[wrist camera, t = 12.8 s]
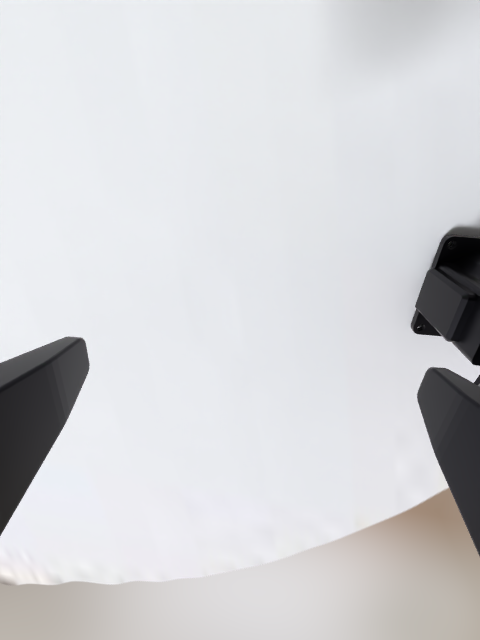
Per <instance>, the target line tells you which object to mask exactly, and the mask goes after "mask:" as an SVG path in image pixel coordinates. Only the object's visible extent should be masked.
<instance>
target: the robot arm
mask: <svg viewBox="0 0 480 640" xmlns="http://www.w3.org/2000/svg"><path fill="white" fill-rule="evenodd" d="M451 241H453V245H452V246H451V247H448V244H449V242H451ZM415 307H416V308H417V309H416V311H415V314H414V317H413V320H412V323H411V329H412V330H413V331H414V332H415V333H416V334H422V335H434V336H443V338H444V339H445V340H446V341H449V342H452V343H453V344H454V345H455V346H456V347H457V348H458V349H459V350H460V351H461V352H462V353H463V354H464V356H465V357H466V358H467V359H468V360H469V361H470V362H471V363H472V364H473V365H478V366H480V237H474V236H461V235H448V236H445V237H444V238H443V239H442V240H441V242H440V245H439V247H438V250H437V253H436V256H435V258H434V261H433V264H432V267H431V269H430V270H429V271H428V272H427V274H426V277H425V280H424V283H423V285H422V288H421V291H420V294H419V297H418V300H417V302H416V305H415ZM420 324H422V326H421V327H420V328H417V327H418V326H419V325H420ZM88 371H89V359H88V353H87V348H86V343H85V341H84V339H83V338H79V337H65V338H62V339H60V340H57V341H55V342H52V343H50V344H47V345H45V346H42V347H39V348H37V349H34V350H32V351H29V352H27V353H24V354H22V355H19V356H17V357H14V358H12V359H9V360H7V361H4V362H2V363H0V536H1V534H2V532H3V530H4V529H5V527H6V525H7V523H8V522H9V520H10V518H11V517H12V515H13V513H14V511H15V510H16V508H17V506H18V504H19V503H20V501H21V499H22V498H23V496H24V494H25V492H26V491H27V489H28V487H29V486H30V484H31V482H32V480H33V479H34V477H35V475H36V473H37V472H38V470H39V468H40V467H41V465H42V463H43V461H44V460H45V458H46V456H47V455H48V453H49V451H50V449H51V448H52V446H53V444H54V442H55V441H56V439H57V437H58V436H59V434H60V432H61V430H62V429H63V427H64V425H65V423H66V421H67V419H68V417H69V415H70V413H71V411H72V408H73V406H74V404H75V401H76V399H77V397H78V395H79V392H80V390H81V388H82V385H83V383H84V381H85V379H86V376H87V374H88ZM417 399H418V403H419V407H420V410H421V413H422V416H423V419H424V422H425V425H426V429H427V432H428V435H429V438H430V441H431V444H432V447H433V450H434V453H435V455H436V458H437V460H438V463H439V465H440V467H441V470H442V472H443V474H444V476H445V479H446V481H447V483H448V486H449V488H450V490H451V492H452V495H453V497H454V499H455V501H456V504H457V506H458V508H459V510H460V513H461V515H462V517H463V520H464V522H465V524H466V526H467V529H468V531H469V533H470V535H471V538H472V540H473V542H474V545H475V547H476V549H477V551H478V554H479V556H480V375H479V377H478V378H477V379H476V381H475V382H474V383H472V382H470V381H469V380H467V379H465V378H463V377H461V376H460V375H458V374H456V373H454V372H452V371H450V370H449V369H446V368H436V367H431V368H429V369H428V370H427V371H426V373H425V376H424V378H423V380H422V383H421V385H420V388H419V390H418V394H417Z"/></svg>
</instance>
